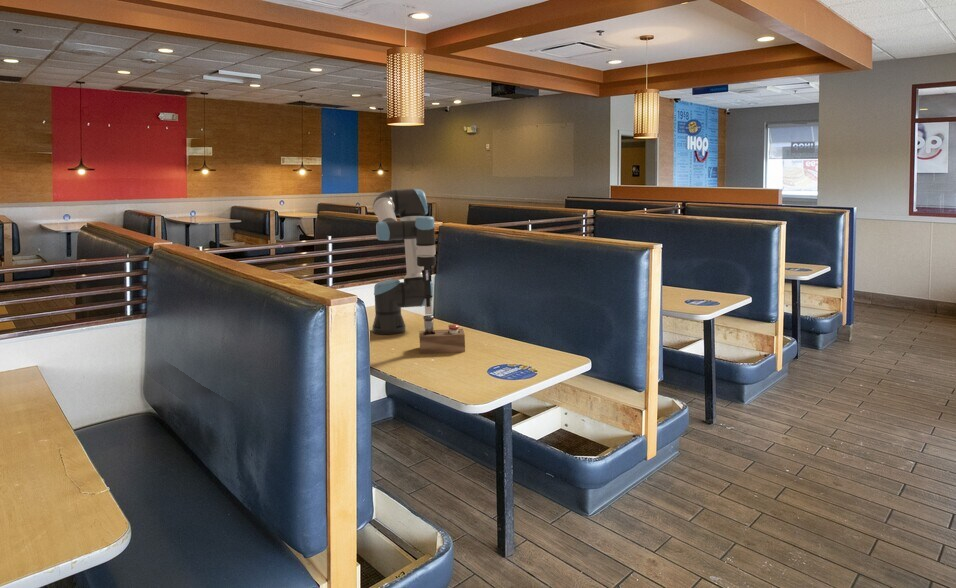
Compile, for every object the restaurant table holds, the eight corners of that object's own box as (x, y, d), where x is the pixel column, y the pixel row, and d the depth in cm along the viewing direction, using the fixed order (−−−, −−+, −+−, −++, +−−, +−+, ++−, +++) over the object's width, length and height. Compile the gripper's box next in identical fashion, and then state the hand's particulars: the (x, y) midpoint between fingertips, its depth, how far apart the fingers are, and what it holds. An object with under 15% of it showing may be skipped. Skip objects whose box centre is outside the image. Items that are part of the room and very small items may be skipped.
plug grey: (424, 333, 266) (423, 315, 265) (434, 332, 266) (433, 315, 265) (424, 335, 262) (423, 317, 260) (434, 335, 262) (433, 317, 261)
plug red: (448, 342, 268) (448, 324, 266) (459, 341, 268) (458, 324, 267) (449, 345, 264) (448, 327, 262) (459, 344, 264) (459, 326, 262)
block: (420, 347, 270) (419, 330, 269) (463, 345, 271) (462, 328, 270) (420, 353, 260) (419, 336, 259) (465, 351, 262) (464, 334, 260)
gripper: (416, 254, 264) (419, 311, 268) (416, 258, 251) (419, 317, 256) (435, 253, 265) (437, 310, 269) (436, 257, 252) (438, 317, 256)
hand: (428, 313), depth 262 cm, fingers closed
